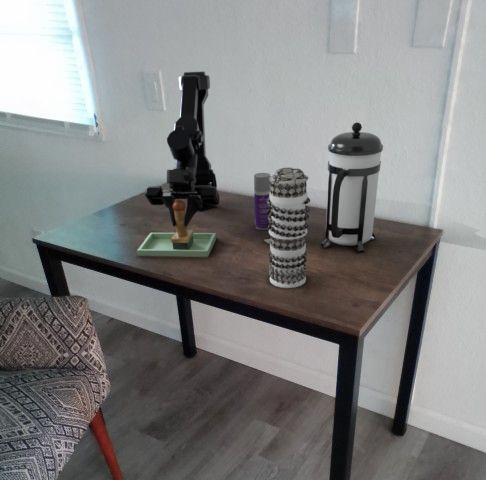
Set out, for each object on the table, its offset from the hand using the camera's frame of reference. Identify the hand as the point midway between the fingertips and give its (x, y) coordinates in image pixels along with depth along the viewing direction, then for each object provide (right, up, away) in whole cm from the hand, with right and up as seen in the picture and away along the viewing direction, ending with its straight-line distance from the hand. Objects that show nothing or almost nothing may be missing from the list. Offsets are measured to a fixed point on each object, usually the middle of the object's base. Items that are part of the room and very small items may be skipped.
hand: (179, 226), depth 126 cm
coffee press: (+44, -5, +2) cm, 44 cm away
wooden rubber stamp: (+1, -5, +5) cm, 6 cm away
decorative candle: (+27, -15, -13) cm, 33 cm away
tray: (-1, -5, +5) cm, 7 cm away
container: (+22, +3, +16) cm, 27 cm away
